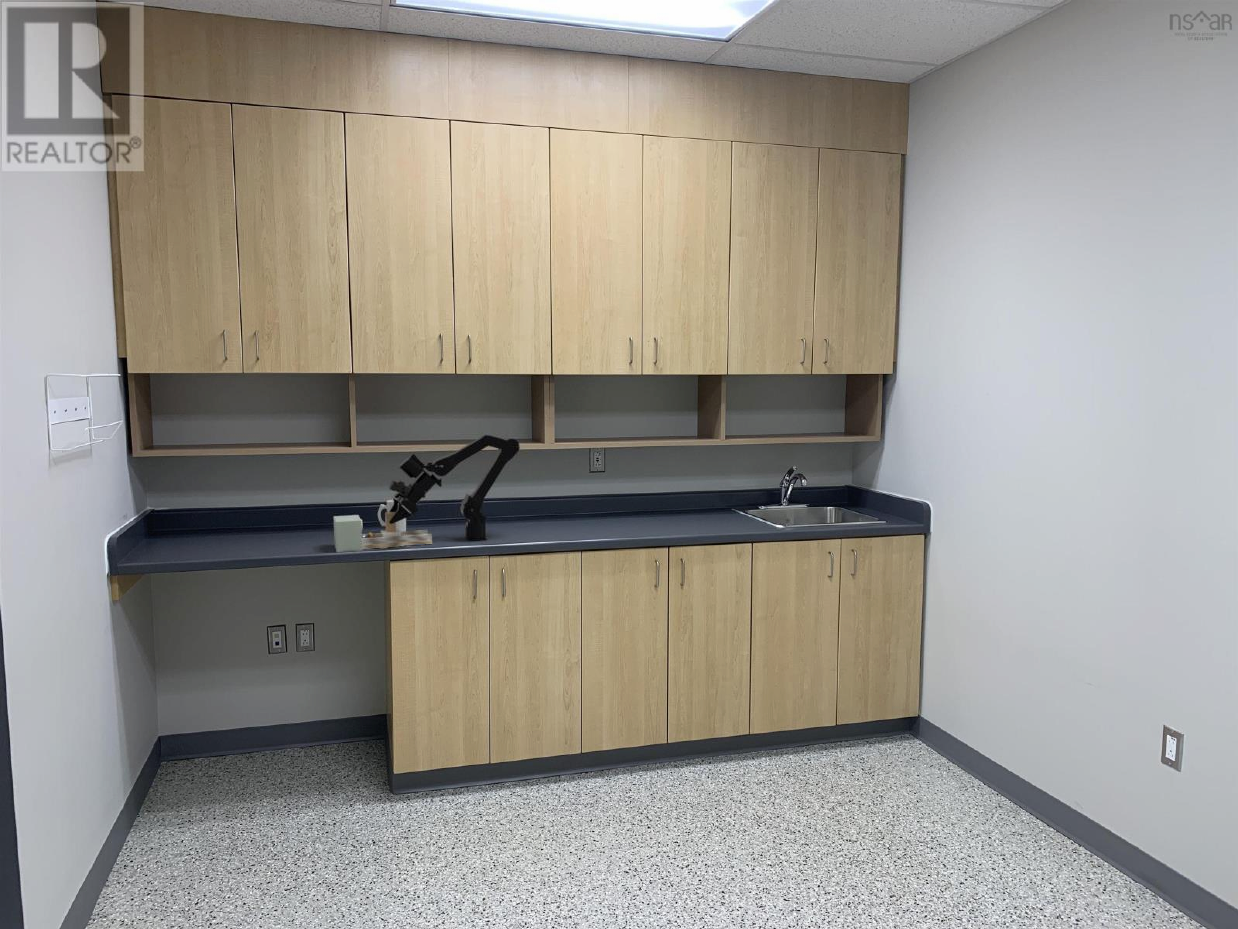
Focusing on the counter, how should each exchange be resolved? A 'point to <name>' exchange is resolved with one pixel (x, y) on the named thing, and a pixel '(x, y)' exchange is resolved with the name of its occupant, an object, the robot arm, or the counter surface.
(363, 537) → the button
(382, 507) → the mug
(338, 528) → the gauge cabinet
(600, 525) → the counter surface
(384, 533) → the brown post on base
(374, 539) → the patterned tray
